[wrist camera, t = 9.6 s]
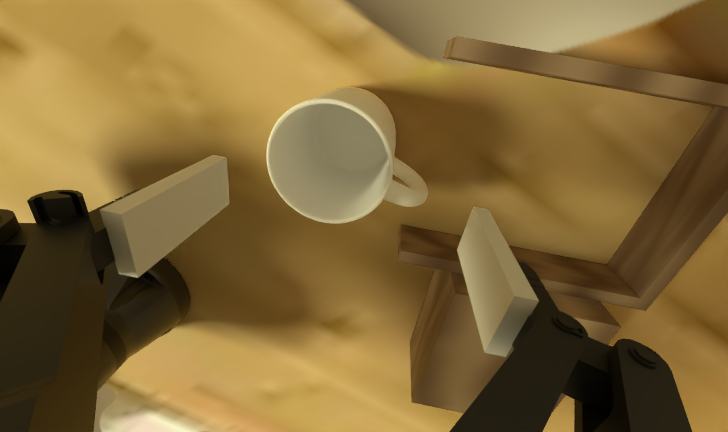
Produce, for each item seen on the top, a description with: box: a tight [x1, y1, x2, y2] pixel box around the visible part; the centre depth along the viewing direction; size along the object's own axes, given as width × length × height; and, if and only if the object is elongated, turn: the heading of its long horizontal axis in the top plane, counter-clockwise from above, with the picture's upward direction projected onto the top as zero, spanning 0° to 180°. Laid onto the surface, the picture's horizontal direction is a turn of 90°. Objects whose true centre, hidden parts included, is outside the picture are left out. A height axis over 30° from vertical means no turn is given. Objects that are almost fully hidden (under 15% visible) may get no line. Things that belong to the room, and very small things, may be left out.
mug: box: [266, 87, 428, 224], centre depth 24 cm, size 12×8×10 cm
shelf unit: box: [398, 36, 728, 413], centre depth 28 cm, size 23×34×8 cm
